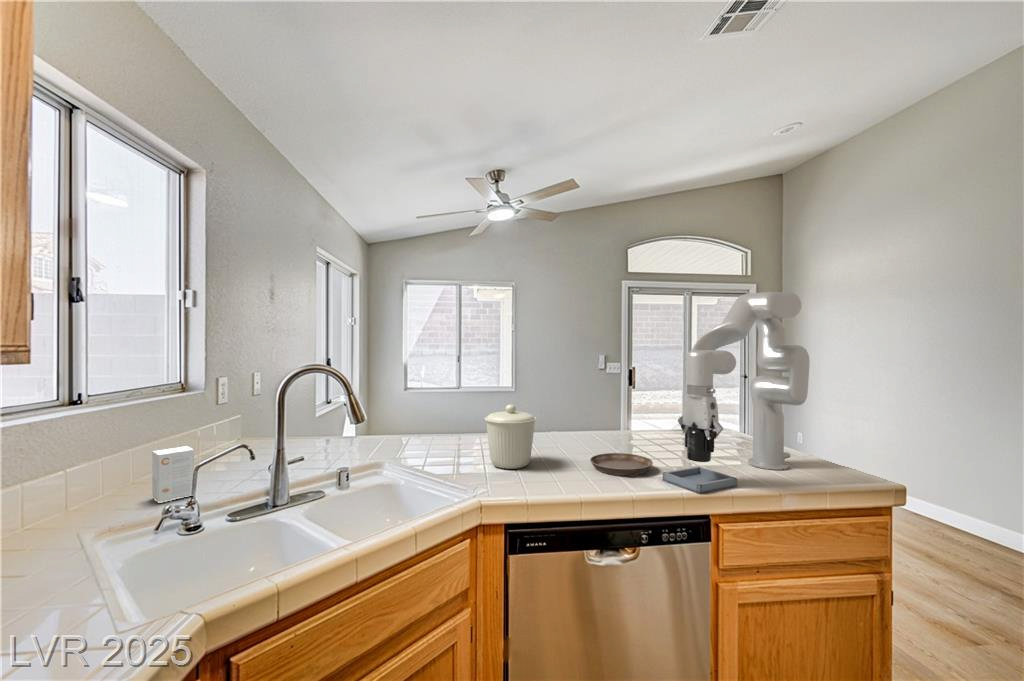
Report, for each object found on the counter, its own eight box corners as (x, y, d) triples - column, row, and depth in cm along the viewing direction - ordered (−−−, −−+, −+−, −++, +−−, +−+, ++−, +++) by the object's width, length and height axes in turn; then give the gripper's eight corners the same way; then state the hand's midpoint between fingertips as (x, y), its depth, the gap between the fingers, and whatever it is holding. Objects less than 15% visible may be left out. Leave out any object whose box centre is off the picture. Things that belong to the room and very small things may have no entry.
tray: (698, 474, 149) (698, 466, 149) (737, 486, 137) (737, 478, 137) (662, 480, 142) (662, 472, 142) (699, 494, 129) (699, 485, 129)
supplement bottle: (713, 463, 135) (713, 422, 135) (689, 461, 136) (689, 421, 137) (708, 457, 142) (708, 419, 142) (685, 456, 143) (685, 418, 143)
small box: (187, 491, 128) (187, 445, 128) (194, 496, 124) (194, 449, 124) (151, 499, 122) (151, 450, 122) (157, 504, 118) (158, 454, 118)
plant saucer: (589, 476, 146) (589, 466, 146) (590, 460, 167) (590, 451, 167) (656, 480, 143) (656, 469, 143) (648, 463, 163) (648, 454, 163)
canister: (545, 463, 161) (546, 403, 161) (518, 476, 146) (519, 410, 146) (503, 456, 171) (503, 400, 171) (473, 467, 155) (474, 405, 155)
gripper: (733, 393, 133) (732, 454, 133) (686, 388, 149) (685, 442, 149) (715, 394, 130) (714, 457, 130) (669, 388, 145) (668, 444, 145)
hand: (699, 449), depth 139 cm, fingers closed on supplement bottle, 6 cm apart
